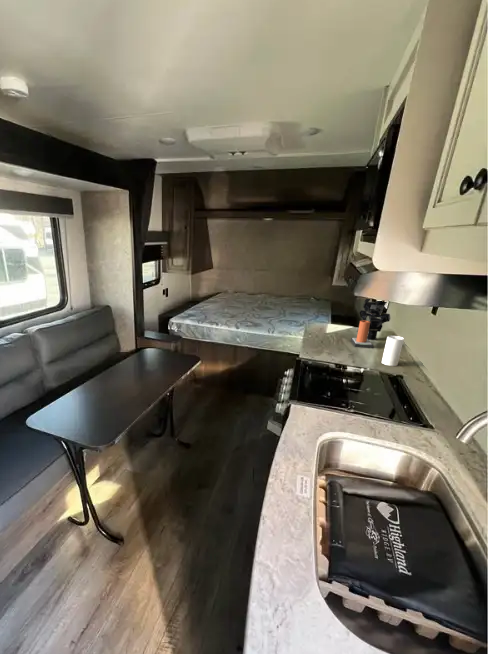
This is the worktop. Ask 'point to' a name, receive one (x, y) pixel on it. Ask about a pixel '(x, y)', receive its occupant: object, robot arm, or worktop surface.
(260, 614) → the worktop surface
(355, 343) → the scale
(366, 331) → the orange cylinder
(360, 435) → the worktop surface
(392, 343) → the cup
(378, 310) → the robot arm
